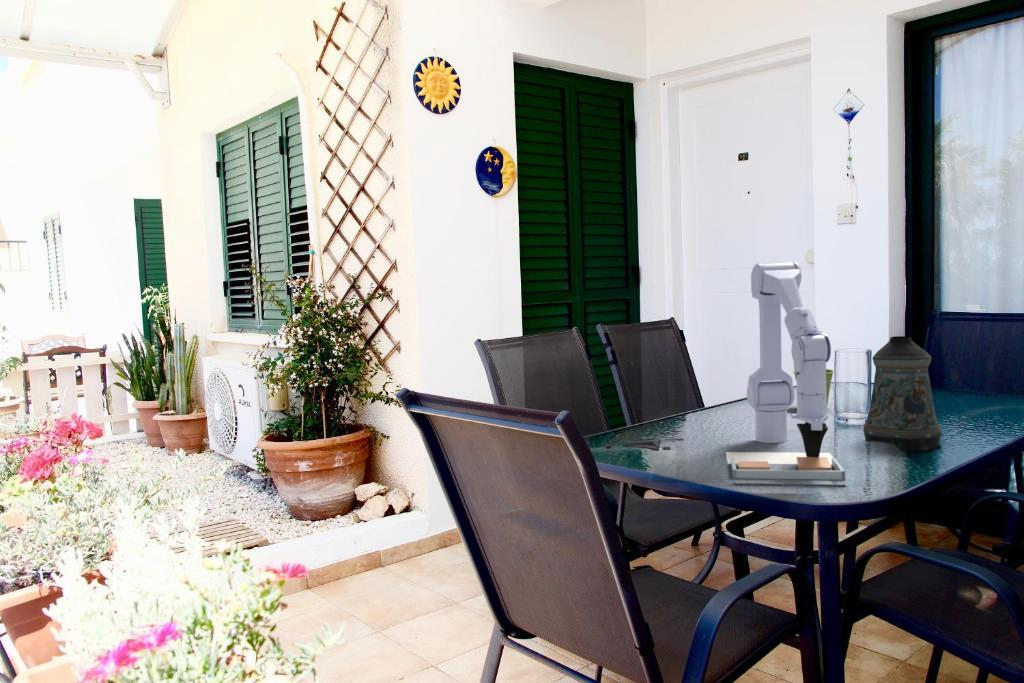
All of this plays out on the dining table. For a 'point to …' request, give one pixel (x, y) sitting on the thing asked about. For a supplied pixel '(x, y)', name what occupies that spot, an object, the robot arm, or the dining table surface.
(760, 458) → the cream plate
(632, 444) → the bracket
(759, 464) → the terracotta tile
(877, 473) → the dining table surface
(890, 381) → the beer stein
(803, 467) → the terracotta tile
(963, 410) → the dining table surface
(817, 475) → the tray
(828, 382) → the plant pot
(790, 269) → the robot arm
